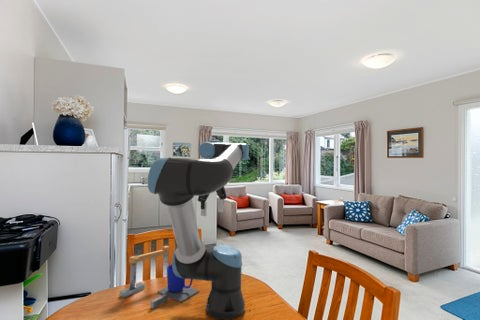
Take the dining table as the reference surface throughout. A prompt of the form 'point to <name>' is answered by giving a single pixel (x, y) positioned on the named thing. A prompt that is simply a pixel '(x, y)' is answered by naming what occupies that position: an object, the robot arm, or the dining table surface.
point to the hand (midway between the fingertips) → (212, 213)
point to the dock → (138, 287)
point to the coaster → (179, 294)
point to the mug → (175, 281)
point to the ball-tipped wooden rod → (149, 255)
